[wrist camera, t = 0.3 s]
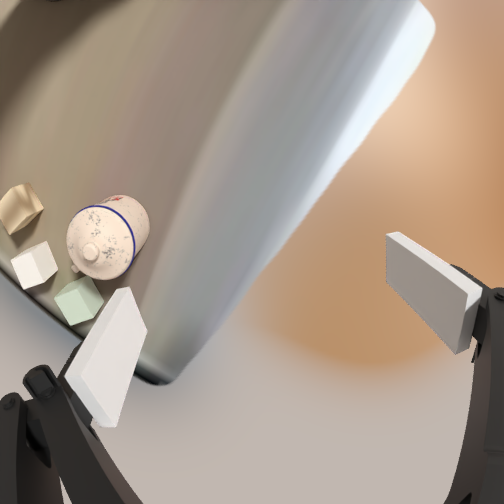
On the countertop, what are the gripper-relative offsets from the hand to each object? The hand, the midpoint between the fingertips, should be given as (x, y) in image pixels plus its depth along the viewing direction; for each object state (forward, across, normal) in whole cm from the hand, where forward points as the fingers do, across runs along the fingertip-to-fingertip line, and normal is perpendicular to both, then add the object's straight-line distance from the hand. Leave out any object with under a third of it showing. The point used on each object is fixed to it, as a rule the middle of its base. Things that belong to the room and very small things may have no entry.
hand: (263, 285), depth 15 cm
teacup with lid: (+28, -18, -1) cm, 33 cm away
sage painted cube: (+28, -27, -10) cm, 40 cm away
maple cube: (+28, -33, +6) cm, 43 cm away
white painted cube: (+28, -34, -3) cm, 43 cm away
